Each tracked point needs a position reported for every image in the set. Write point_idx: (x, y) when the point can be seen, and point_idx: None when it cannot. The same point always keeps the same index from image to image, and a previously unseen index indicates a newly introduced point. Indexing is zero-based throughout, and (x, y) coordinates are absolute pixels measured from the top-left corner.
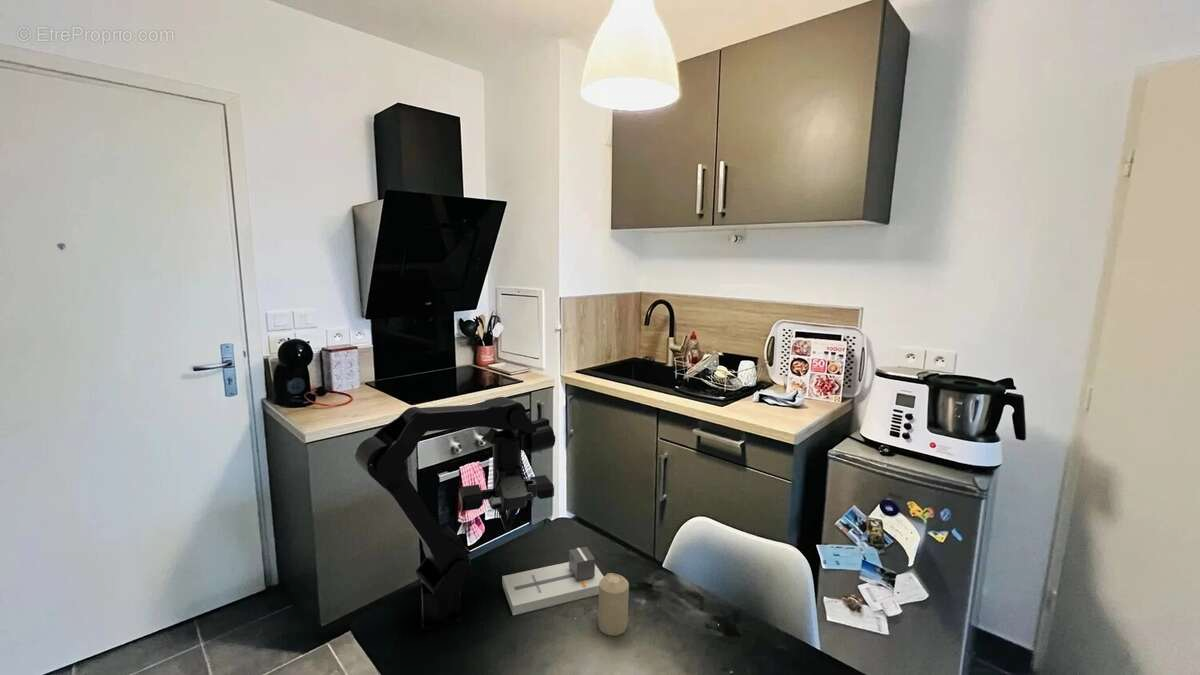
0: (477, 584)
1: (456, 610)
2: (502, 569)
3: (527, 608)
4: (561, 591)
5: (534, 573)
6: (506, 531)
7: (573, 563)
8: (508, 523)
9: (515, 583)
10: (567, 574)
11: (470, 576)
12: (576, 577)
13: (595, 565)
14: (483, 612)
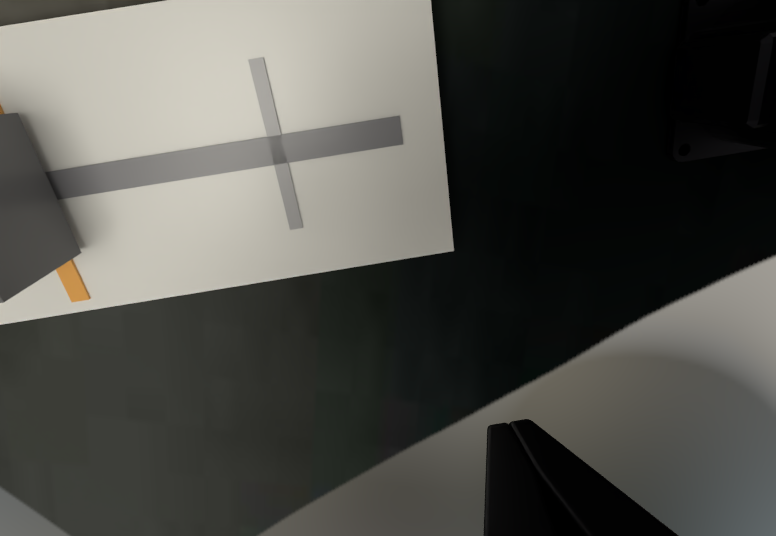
0: (550, 259)
1: (711, 29)
2: (432, 342)
3: None
4: (120, 38)
5: (285, 243)
6: (523, 420)
7: None
8: (544, 496)
9: (393, 176)
10: (93, 202)
11: (569, 317)
12: (8, 121)
13: None
14: (557, 41)
